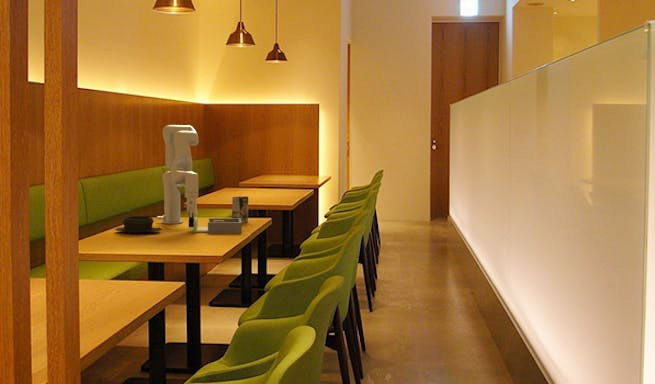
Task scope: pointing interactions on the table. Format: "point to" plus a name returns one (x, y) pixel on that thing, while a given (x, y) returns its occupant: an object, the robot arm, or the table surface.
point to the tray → (199, 229)
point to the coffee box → (240, 208)
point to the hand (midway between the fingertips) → (191, 227)
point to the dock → (225, 225)
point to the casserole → (138, 225)
